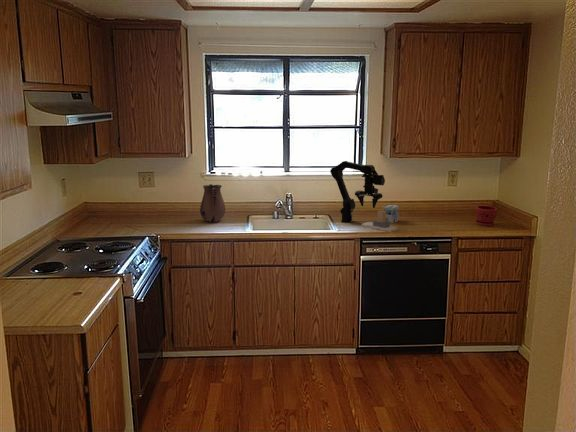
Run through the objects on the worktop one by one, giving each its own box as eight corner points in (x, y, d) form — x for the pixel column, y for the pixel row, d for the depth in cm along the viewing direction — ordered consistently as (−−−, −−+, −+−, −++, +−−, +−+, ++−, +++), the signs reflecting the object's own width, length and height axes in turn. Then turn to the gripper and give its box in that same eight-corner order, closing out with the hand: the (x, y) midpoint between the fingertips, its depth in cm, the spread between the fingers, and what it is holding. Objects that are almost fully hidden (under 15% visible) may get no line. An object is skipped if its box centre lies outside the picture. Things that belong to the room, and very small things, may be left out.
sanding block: (372, 225, 326) (373, 210, 324) (378, 224, 330) (378, 209, 328) (384, 228, 320) (385, 212, 318) (389, 226, 324) (390, 211, 322)
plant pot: (472, 225, 333) (474, 207, 330) (477, 221, 343) (478, 204, 341) (493, 228, 326) (494, 210, 323) (497, 224, 336) (499, 206, 334)
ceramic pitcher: (221, 217, 359) (219, 182, 354) (230, 223, 341) (229, 187, 335) (197, 219, 352) (195, 184, 346) (205, 225, 333) (204, 189, 328)
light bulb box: (392, 223, 338) (392, 208, 336) (383, 222, 342) (383, 206, 340) (398, 220, 347) (399, 205, 344) (389, 219, 351) (390, 204, 348)
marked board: (361, 226, 331) (362, 224, 331) (368, 224, 337) (369, 221, 336) (390, 231, 316) (390, 229, 316) (397, 229, 322) (397, 227, 322)
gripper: (387, 184, 329) (386, 207, 332) (364, 181, 342) (363, 203, 345) (378, 186, 321) (377, 209, 324) (354, 183, 334) (354, 205, 337)
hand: (368, 207), depth 333 cm, fingers open, 9 cm apart
